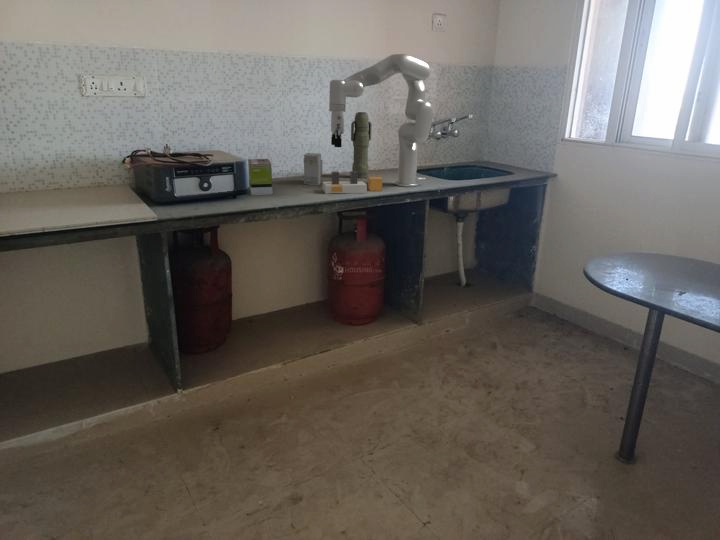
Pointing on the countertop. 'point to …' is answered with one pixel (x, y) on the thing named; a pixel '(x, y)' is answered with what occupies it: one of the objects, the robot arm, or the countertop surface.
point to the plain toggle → (353, 177)
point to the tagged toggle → (335, 177)
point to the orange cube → (375, 183)
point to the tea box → (260, 176)
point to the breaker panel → (344, 187)
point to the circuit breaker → (312, 168)
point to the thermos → (361, 143)
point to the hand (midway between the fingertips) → (336, 146)
